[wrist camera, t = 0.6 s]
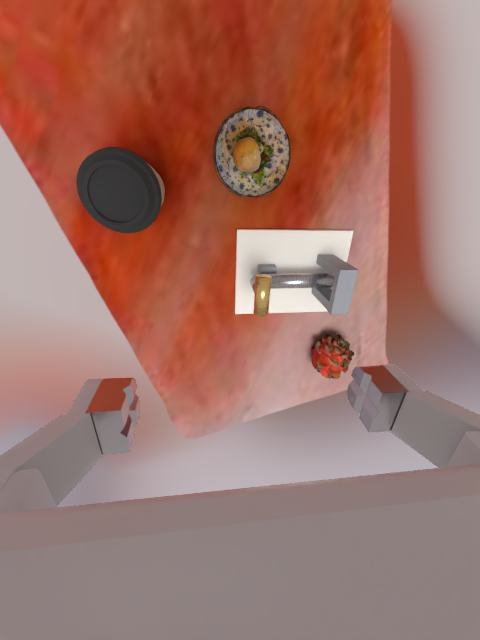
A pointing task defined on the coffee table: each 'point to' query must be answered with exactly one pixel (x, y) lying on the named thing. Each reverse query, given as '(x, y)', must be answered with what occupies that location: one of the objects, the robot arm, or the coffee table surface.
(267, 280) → the hook
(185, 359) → the coffee table surface
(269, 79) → the coffee table surface
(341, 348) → the dragon fruit
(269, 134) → the burger
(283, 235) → the board
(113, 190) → the coffee cup
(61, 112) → the coffee table surface
